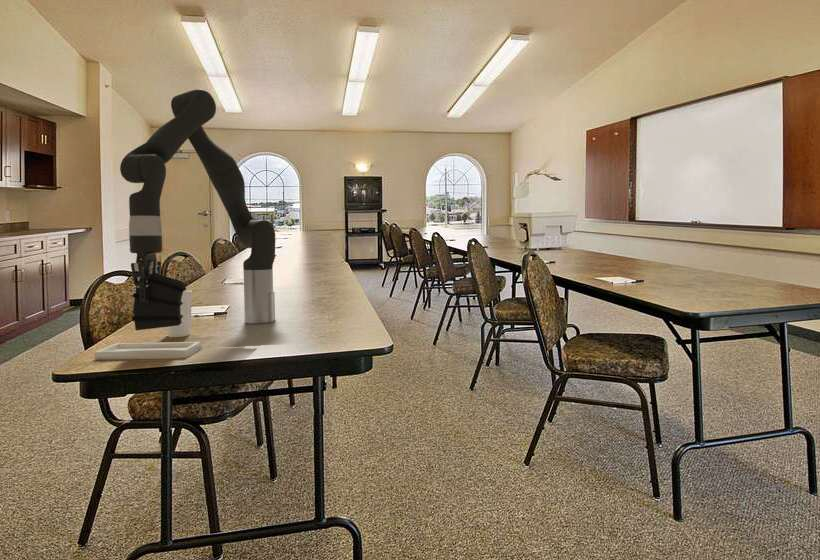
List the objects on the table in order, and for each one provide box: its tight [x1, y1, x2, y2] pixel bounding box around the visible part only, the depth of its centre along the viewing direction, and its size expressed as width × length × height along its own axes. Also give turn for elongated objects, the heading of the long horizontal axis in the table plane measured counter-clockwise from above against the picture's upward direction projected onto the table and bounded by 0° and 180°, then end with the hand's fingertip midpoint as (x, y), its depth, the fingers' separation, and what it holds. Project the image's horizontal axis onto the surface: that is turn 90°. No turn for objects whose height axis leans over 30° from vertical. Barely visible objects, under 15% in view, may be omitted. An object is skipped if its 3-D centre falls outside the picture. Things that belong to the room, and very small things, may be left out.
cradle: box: [94, 341, 202, 361], centre depth 147 cm, size 22×12×2 cm, turn 94°
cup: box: [166, 289, 193, 338], centre depth 169 cm, size 8×8×14 cm
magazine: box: [131, 272, 187, 331], centre depth 147 cm, size 4×13×15 cm, turn 99°
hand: (148, 301), depth 146 cm, fingers closed on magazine, 4 cm apart
